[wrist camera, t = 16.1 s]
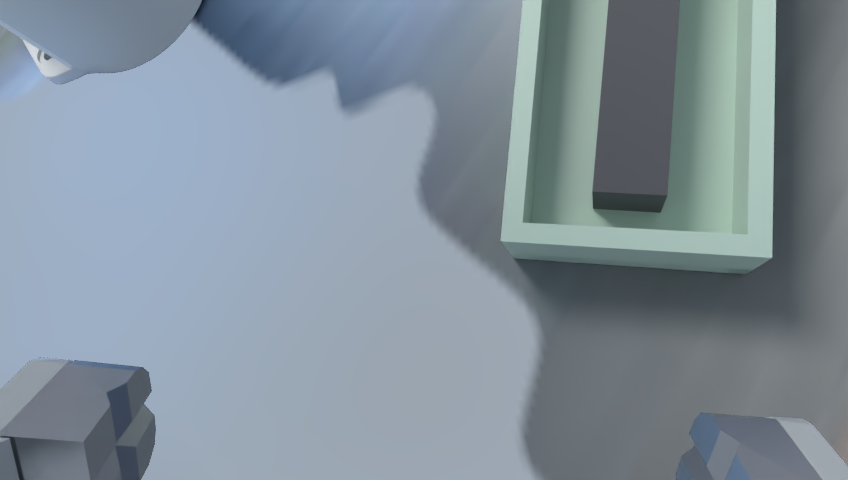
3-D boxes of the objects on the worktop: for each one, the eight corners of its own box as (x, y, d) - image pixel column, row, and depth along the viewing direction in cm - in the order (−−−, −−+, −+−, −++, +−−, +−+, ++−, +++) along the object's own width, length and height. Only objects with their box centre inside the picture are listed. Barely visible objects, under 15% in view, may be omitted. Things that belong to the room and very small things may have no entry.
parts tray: (548, -139, 39) (542, -208, 35) (756, -163, 36) (779, -243, 31) (513, 258, 35) (500, 241, 30) (746, 274, 31) (772, 257, 27)
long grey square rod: (620, -120, 36) (622, -167, 33) (682, -125, 35) (691, -175, 32) (592, 208, 33) (592, 191, 30) (660, 212, 32) (667, 195, 29)
